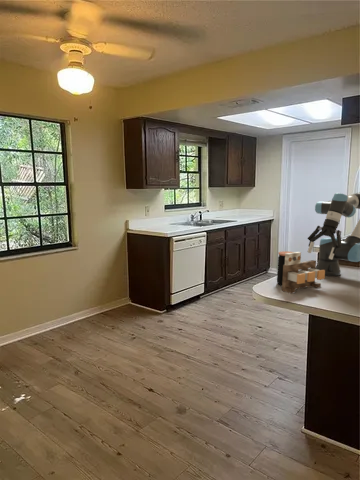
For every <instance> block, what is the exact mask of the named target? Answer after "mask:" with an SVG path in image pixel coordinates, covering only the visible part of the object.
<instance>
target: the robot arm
mask: <svg viewBox="0 0 360 480" xmlns="http://www.w3.org/2000/svg"><path fill="white" fill-rule="evenodd" d="M356 210H360V191H359V192H355V193H350V194H348V195H346V194H344V193H341V192H336V193H334V194H333V196H332V199H331V200H328V201H324V200H323V201H317V202H316V204H315V205H314V211H315V212H316V214H319V215H325V219H324V221H323V224H322V226H320V225H317V226H316V228H315V229H314V230H313V232H312V233H311V234H309V236H308V237H307V240H308V241H309V243H308V250H307V253H308V254H312V251H313V249H314V245H315V242H316V241H317V240H319V239H320V238H321V239H320V240H319V248H318V249H319V251H318V261H317V262H316V269H318V270H325V277H326V276H328V277H338V276H341V268H340V264H339V260H344V261H349V262H354V263H358V262H360V218H359V219H358V221H357V223H356V226H355V227H354V229H353V231H352V232H351V234H350V235H348V236H346V238H345V239H344V240H342V236H341V235H342V231H341V230H339V229H338V226H339V224H340V221H341V218H342V217H344V218H352V217H353V216H355V214H356V212H357V211H356ZM337 229H338V230H337ZM335 234H336V236H335ZM324 236H325V237H324ZM323 237H324V238H323Z"/></svg>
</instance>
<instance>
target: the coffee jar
mask: <svg viewBox="0 0 360 480" xmlns="http://www.w3.org/2000/svg"><path fill="white" fill-rule="evenodd" d="M293 252H294V251H284V250H283V251H279V252H278V254H277V255H278V257H277V273H276V274H277V275H276V282H277V283H278V285H279V286H282V281H283V265H285V253H293ZM290 272H291V271H290Z"/></svg>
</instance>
